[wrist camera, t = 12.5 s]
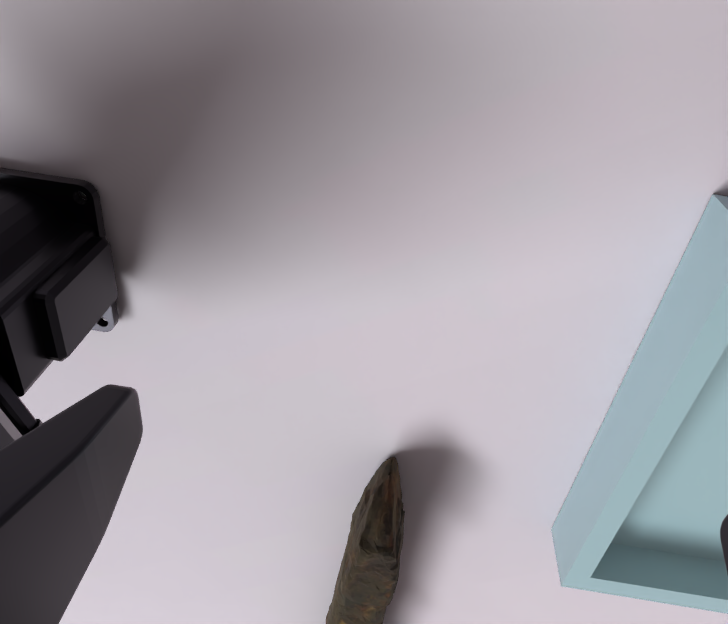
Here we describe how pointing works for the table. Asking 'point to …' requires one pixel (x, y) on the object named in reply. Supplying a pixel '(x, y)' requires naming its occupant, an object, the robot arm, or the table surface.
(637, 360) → the parts tray
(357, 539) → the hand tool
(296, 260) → the table surface
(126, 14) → the table surface
